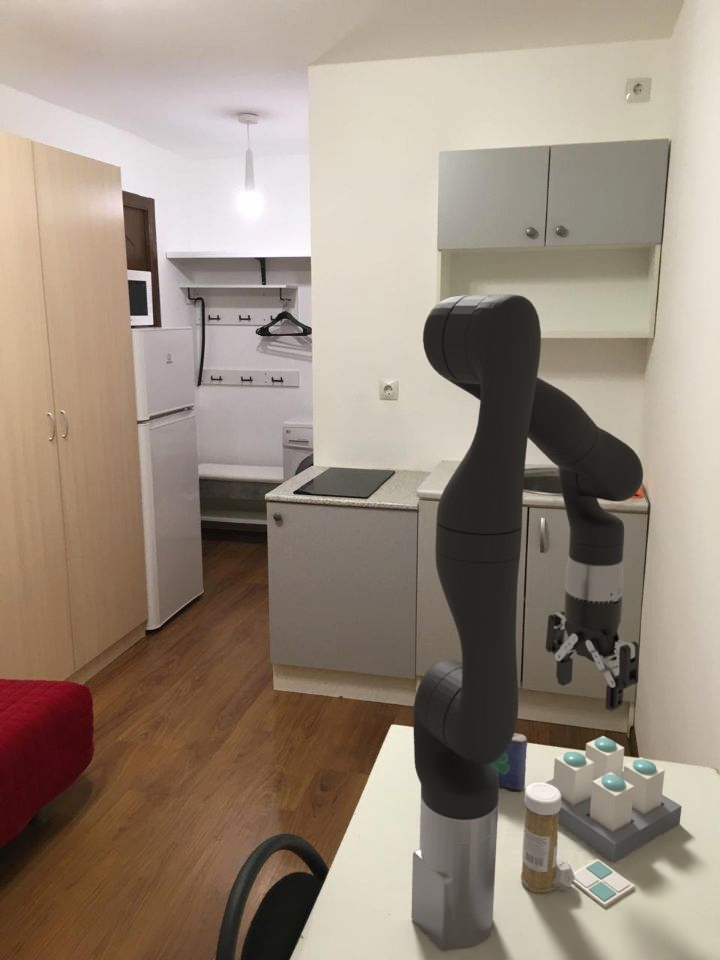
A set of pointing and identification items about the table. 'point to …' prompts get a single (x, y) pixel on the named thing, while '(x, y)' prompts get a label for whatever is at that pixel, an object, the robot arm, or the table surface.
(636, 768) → the button far right
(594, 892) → the card
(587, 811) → the button board
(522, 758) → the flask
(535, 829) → the sprinkles bottle
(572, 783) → the button near left
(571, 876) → the game die
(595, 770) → the button far left
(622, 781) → the button near right
